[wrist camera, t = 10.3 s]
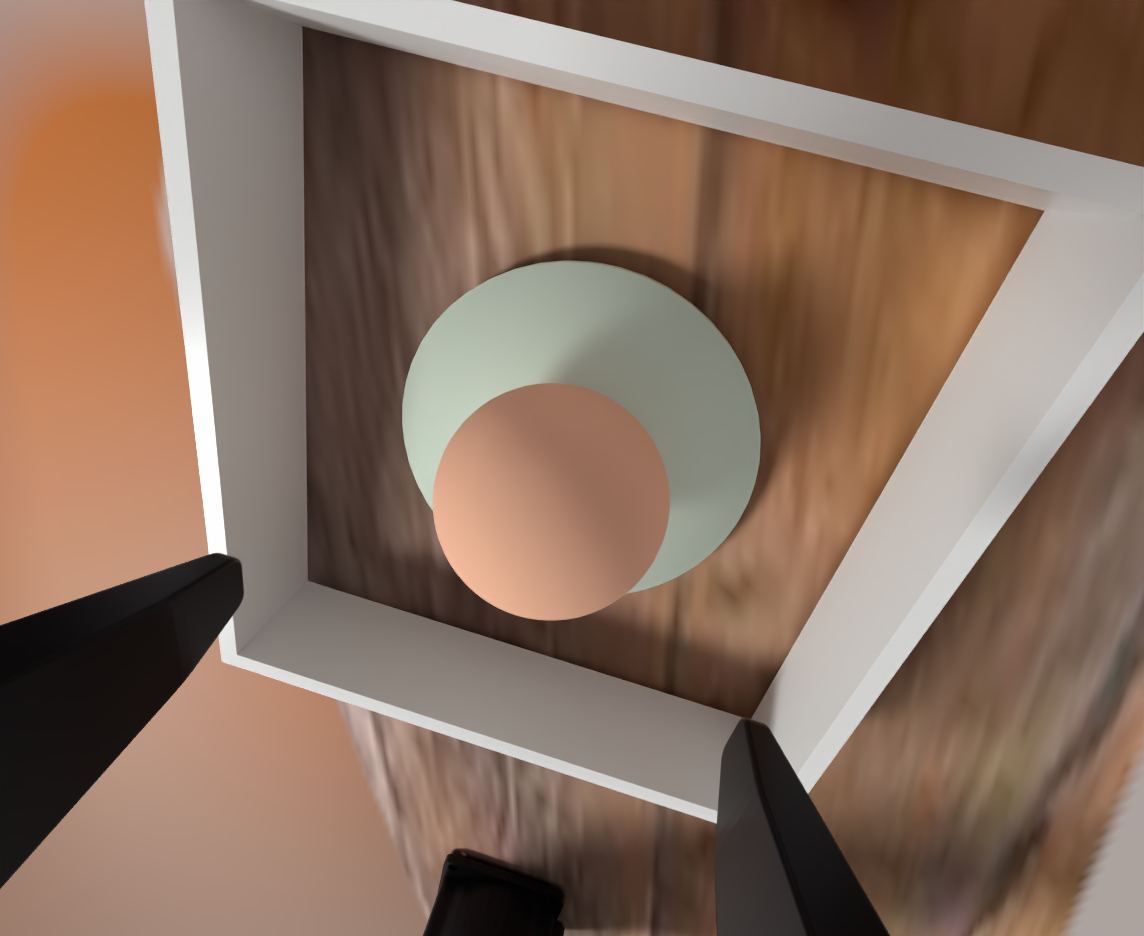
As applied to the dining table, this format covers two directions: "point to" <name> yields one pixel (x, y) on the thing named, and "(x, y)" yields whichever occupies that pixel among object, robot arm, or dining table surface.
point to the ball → (551, 501)
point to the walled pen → (605, 384)
